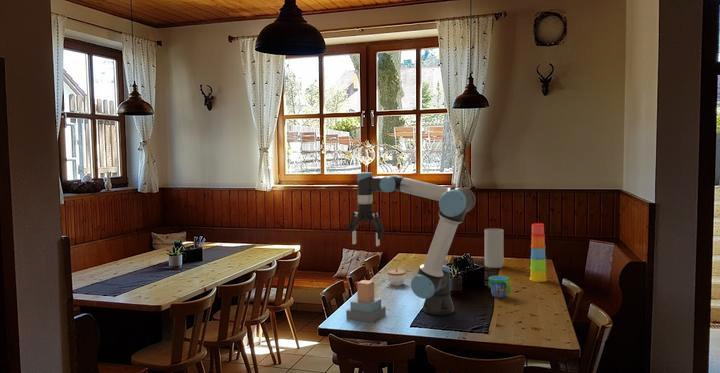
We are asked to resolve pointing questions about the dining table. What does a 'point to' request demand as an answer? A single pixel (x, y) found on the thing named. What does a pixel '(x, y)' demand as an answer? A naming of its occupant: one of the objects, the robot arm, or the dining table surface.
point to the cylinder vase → (494, 248)
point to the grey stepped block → (365, 310)
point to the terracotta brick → (365, 291)
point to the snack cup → (499, 285)
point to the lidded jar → (396, 277)
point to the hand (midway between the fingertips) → (366, 244)
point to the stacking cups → (538, 254)
